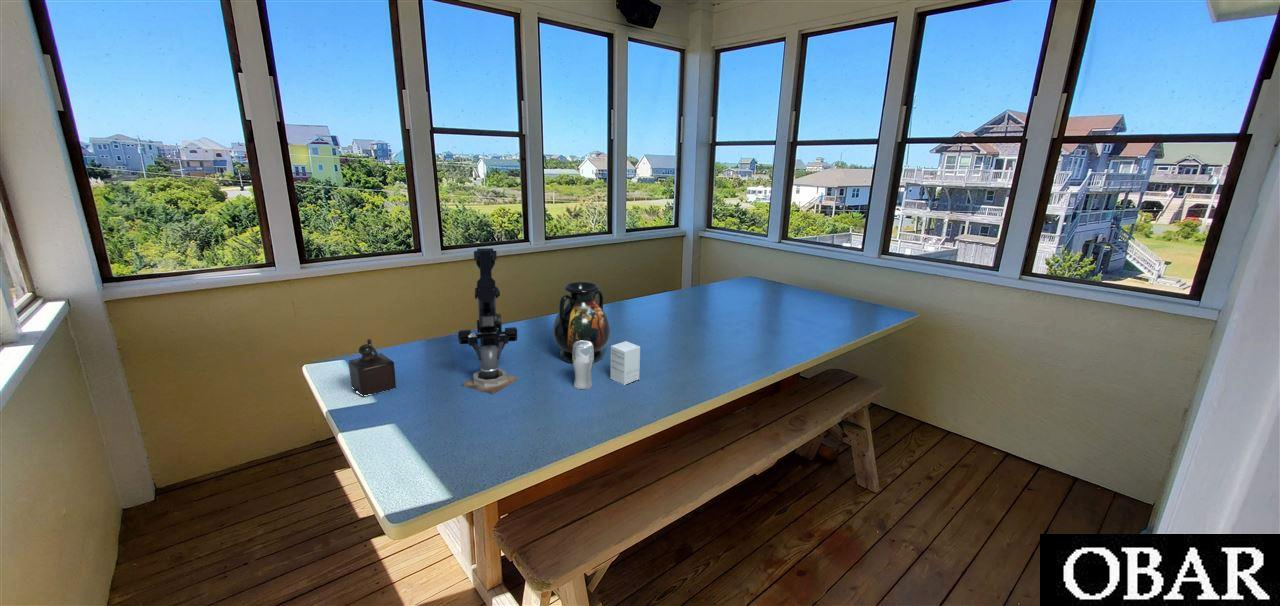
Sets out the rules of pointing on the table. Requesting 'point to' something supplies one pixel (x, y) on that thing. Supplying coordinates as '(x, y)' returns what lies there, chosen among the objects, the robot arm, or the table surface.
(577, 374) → the beer glass
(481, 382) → the walnut mount board
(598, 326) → the amphora vase
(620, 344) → the supplement box
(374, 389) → the brown coffee grinder
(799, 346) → the table surface
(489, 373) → the grey dome-topped cylinder
